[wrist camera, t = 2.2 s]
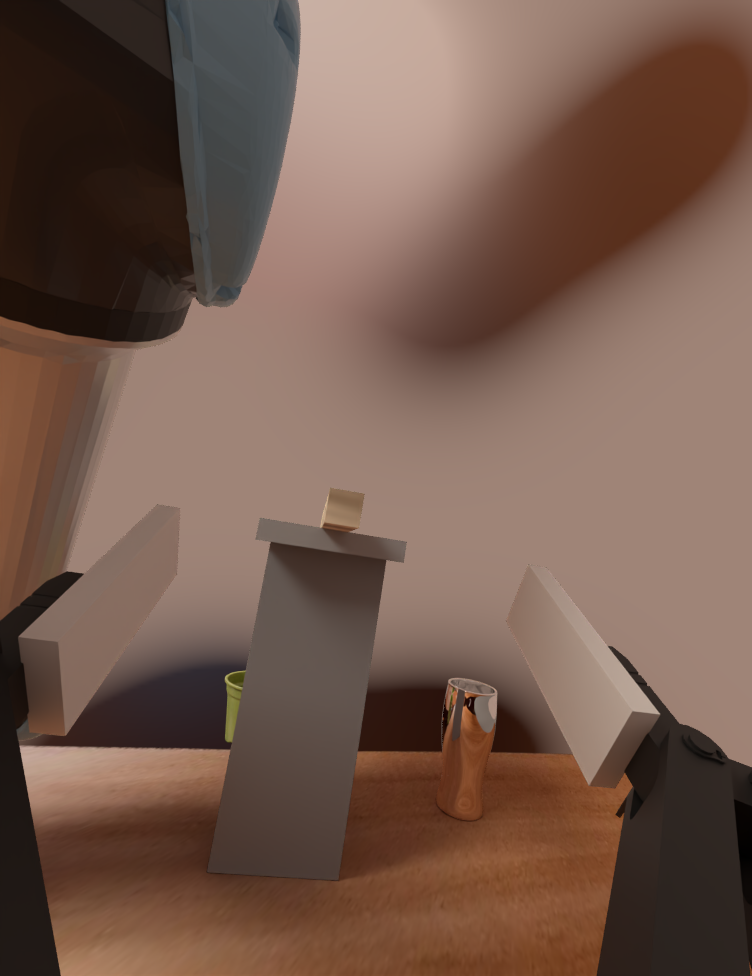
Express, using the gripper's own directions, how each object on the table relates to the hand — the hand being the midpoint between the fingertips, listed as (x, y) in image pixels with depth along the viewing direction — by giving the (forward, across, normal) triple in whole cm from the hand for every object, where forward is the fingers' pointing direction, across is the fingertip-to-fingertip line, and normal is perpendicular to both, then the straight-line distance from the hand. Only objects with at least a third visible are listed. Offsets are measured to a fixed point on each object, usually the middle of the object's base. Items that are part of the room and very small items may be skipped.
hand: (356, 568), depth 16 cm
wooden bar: (+25, 0, -12) cm, 27 cm away
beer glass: (+21, +23, -47) cm, 56 cm away
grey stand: (+13, 0, -42) cm, 44 cm away
